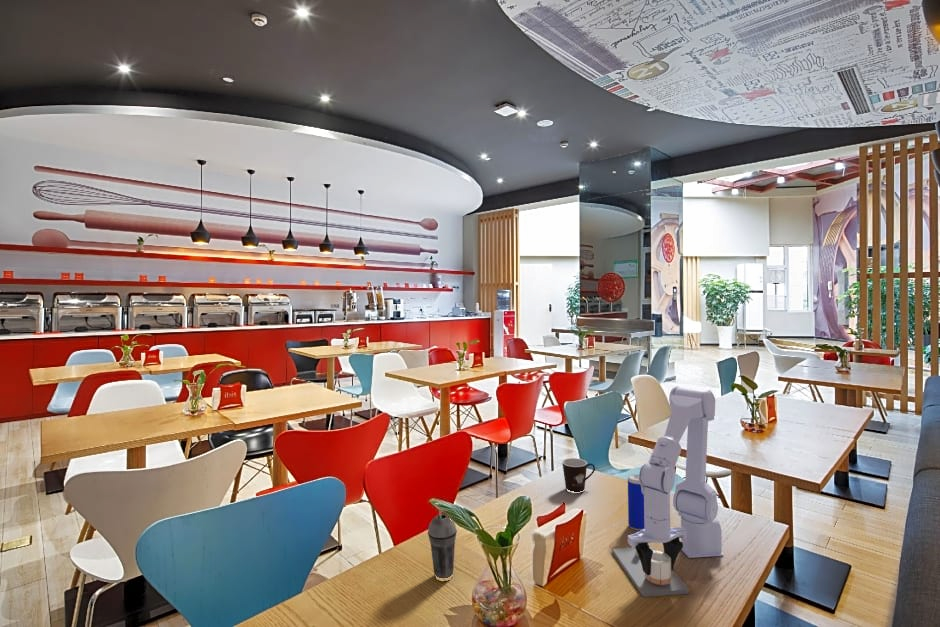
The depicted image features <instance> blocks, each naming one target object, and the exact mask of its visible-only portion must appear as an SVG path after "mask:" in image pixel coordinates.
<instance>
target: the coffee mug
mask: <svg viewBox="0 0 940 627" xmlns="http://www.w3.org/2000/svg"><path fill="white" fill-rule="evenodd" d="M561 463H562V470H563V476H564V483H565V484H564V485H565V489H566V488H567V489H568V490H570V491H574V492H580V491H583V490H584V489H585V488H586V481H587V480H588V479H589V478H591V476H592V475H593V474H594V473H595V471H596V466H595V465H594V464H593V463H588V461H586V459H585V460H584V459H581V458H577V457H576V458H575V457H573V458H572V457H571V458H565V459H563V460H562V462H561ZM589 466H592V471H591V473H589V475H587V468H588V467H589ZM584 491H585V490H584Z"/></svg>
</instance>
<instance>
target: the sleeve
mask: <svg viewBox="0 0 940 627" xmlns="http://www.w3.org/2000/svg"><path fill="white" fill-rule="evenodd" d="M655 550H656V549H655ZM655 550H653V554H652V558H651V574H650V575H647V574H646V573H645V577H646V578H647V579H648V580H649V581H650V582H651V583H655V584H658V585H660V584H661V585H665V584H669V583H670V581H671V557H670V556H668V555H667V554H666V553H664V551H659V550H656V551H655Z"/></svg>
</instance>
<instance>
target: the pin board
mask: <svg viewBox="0 0 940 627" xmlns="http://www.w3.org/2000/svg"><path fill="white" fill-rule="evenodd" d="M649 548H650V549H651V550H652V551H653V550H655V551H657V550H656V549H655V548H654V547H653V546H652V545H649ZM611 552H612V554H613V555H614V557H615V558H616V560H617V561H618V563H619V565H621V567H622V569H623V570H624V572H625V573H626V574H627V577H629V579H630V580H631V582H632V583H633V584H634V585H633V586H635V588H636V589H637V591H638V592H639V593H640V595H641V596H642V598H647V597H648V598H651V597H652V598H653V597H660V596H661V597H662V596H663V597H664V596H674V595H686V594H687V595H688V594H690V588H689V587H688V586H687V585H686V584H685V583H684V581H683V580H682V579H681V578H680V577H679V576H678V575H677V573H676V572H675V570H673V571H671V581H670V583H669V584H665V585H661V584H660V585H658V584H655V583H651V582H650V581H649V580H648V579H647V578H646V577H645V572H644V571H643V568H642V564H641V561H640V558H639V555H638V553H637V551H636V549H635V547H632V546H630V547H622V548H621V547H620V548H612V549H611Z"/></svg>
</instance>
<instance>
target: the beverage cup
mask: <svg viewBox="0 0 940 627" xmlns="http://www.w3.org/2000/svg"><path fill="white" fill-rule="evenodd" d="M438 501H440V502H441V499H438ZM438 512H439V513H438V515H436V516H435V517H434V518H432V520H431V521H430V522H429V525H428V529H427V535H428V539H429V543H430V548H431V549H430V550H431V559H432V560H431V561H432V566H433V575H434V576H435V575H436V576H437V577H439V578H448V577H450V576H451V575H452V574H454V564H455V549H456V546H455V545H456V540H457V538H456V537H457V533H458V531H457V527H456V523H455V521H454V520H453V521H454V522H453V521H451V520H450V519H449V518H448V517H447V516H448V515H447V514H443V513H442V510H441V511H440V510H439V509H438ZM446 515H447V516H446Z"/></svg>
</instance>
